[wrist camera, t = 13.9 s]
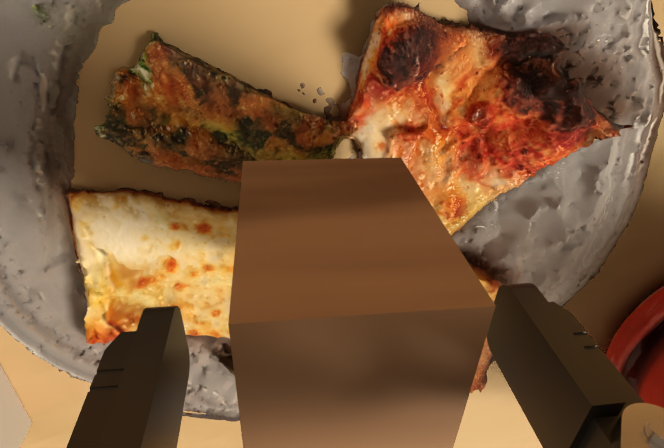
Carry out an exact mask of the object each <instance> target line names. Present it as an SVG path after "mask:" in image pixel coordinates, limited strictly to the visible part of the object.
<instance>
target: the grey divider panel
mask: <svg viewBox="0 0 664 448" xmlns="http://www.w3.org/2000/svg"><path fill="white" fill-rule="evenodd" d="M31 423H32V422H31V420H30V418H29V416H28V414H27V413H26V411H25V409H24V407H23V405H22V404H21V402H20V400H19V398H18V396H17V394H16V393H15V391H14V389H13V387H12V385H11V384H10V382H9V380H8V378H7V376H6V374H5V373H4V371H3V369H2V367H1V365H0V448H20V446H21V444H22V442H23V440H24V438H25V436H26V434H27V432H28V430H29V428H30V425H31Z"/></svg>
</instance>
